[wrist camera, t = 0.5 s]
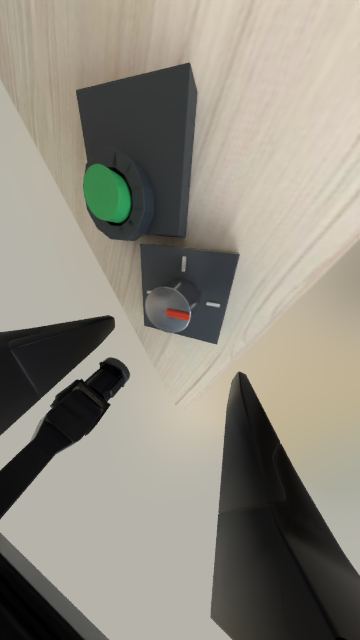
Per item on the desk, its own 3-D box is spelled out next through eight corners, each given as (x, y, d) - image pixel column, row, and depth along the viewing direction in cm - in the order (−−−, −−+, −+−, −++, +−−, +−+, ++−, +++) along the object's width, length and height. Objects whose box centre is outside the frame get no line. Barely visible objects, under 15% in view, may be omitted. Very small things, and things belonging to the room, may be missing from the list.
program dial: (162, 311, 18) (144, 328, 14) (163, 275, 16) (142, 283, 12) (197, 319, 17) (186, 339, 13) (203, 281, 14) (192, 293, 11)
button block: (113, 238, 19) (86, 236, 16) (96, 110, 14) (52, 66, 10) (185, 245, 16) (172, 244, 13) (197, 91, 11) (181, 25, 8)
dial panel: (154, 316, 22) (143, 326, 20) (153, 244, 18) (139, 244, 15) (219, 332, 20) (216, 345, 17) (239, 252, 15) (239, 254, 12)
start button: (103, 222, 15) (88, 219, 13) (96, 174, 13) (78, 164, 11) (133, 223, 14) (121, 221, 12) (130, 172, 12) (115, 162, 11)
